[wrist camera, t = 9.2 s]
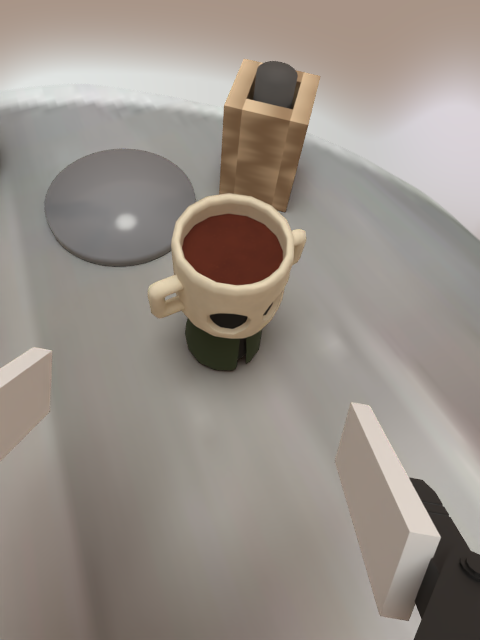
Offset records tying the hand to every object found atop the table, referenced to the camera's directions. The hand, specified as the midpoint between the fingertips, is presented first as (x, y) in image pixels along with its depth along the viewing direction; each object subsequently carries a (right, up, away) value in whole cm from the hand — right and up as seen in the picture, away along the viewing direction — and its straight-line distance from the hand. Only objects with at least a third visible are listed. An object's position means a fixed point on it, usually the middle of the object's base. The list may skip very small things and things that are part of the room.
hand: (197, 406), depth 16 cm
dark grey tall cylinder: (+4, +19, +26) cm, 32 cm away
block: (+4, +18, +27) cm, 33 cm away
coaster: (-10, +14, +24) cm, 29 cm away
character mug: (0, +2, +18) cm, 18 cm away
